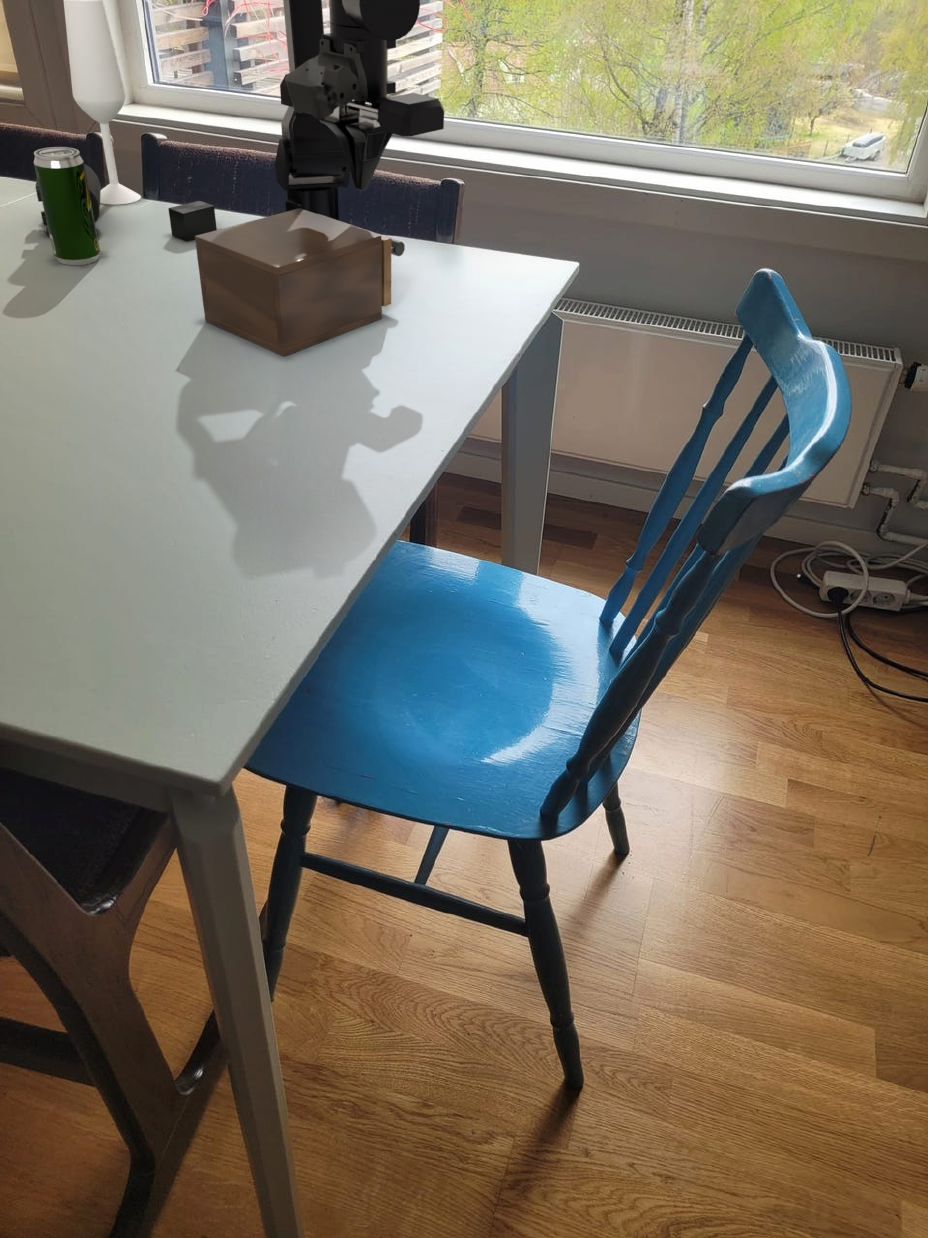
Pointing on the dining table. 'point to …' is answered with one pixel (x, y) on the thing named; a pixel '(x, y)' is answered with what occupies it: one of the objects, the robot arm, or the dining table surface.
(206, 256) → the cabinet
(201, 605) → the dining table surface
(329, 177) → the robot arm
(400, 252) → the drawer
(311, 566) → the dining table surface
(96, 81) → the champagne flute
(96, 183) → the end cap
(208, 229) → the black block
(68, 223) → the beer can
